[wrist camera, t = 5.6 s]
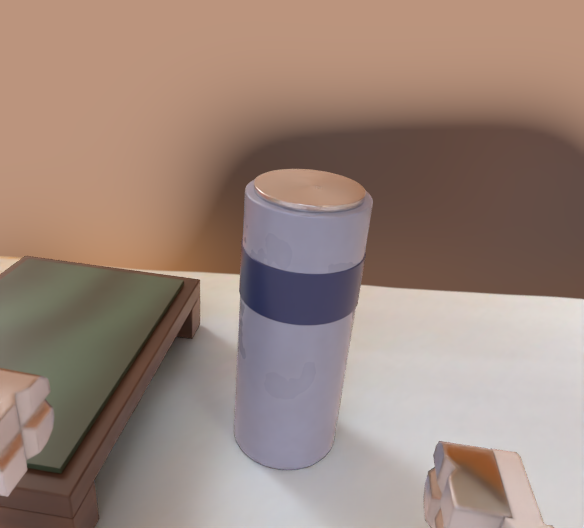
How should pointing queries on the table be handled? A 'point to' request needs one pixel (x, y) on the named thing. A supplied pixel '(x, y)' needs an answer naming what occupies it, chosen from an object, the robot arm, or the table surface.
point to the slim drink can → (296, 311)
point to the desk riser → (84, 370)
